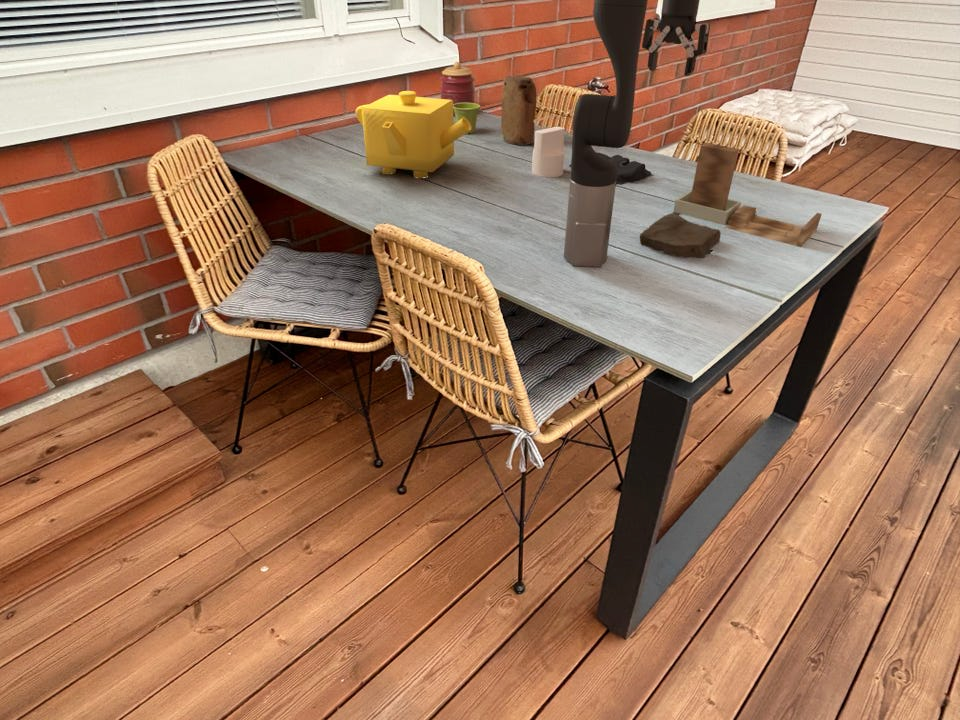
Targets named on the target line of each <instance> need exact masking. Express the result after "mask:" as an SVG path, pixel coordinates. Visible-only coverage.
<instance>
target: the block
mask: <svg viewBox="0 0 960 720" xmlns="http://www.w3.org/2000/svg"><path fill="white" fill-rule="evenodd" d="M501 90H502V91H501V113H500V114H501V115H500V117H501V118H500V120H501V122H500V125H501V126H500V129H501V133H502V135H503V136H502V139H503V141H504V142H505V143H507V142H508V143H507V144H511V145H518V146H527V145H530V144H532V143H533V141H534V140H535V121H534V120H535V118H536V112H537V111H536V110H537V88H536V85H535V83H534V80H533V79H532V77H529V76H526V75H525V76H524V75H514V76H511V75H509V76H505V77H504V78H503V82H502V89H501Z"/></svg>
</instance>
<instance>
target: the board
mask: <svg viewBox="0 0 960 720" xmlns="http://www.w3.org/2000/svg"><path fill="white" fill-rule="evenodd" d="M739 152H740V148H735V147H731V146H726V145H725V146H724V145H720V144H715V143H710V142H705V143H702V144H701V145H700V148H699V152H698V158H697V164H696V169H695V172H694V173H695V175H694V179H693V182H692V183H693V184H692V188H691V190H692V193H691V198H690V203H694V204H698V205H702V206H706V207H710V208H714V209H718V210H722V211H725V209H726V204H727V200H728V199H729V195H730V191H731V185H732V182H733V179H734V178H733V177H734V173H735V168H736V165H737V160H738V155H739Z"/></svg>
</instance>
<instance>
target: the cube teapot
mask: <svg viewBox="0 0 960 720" xmlns="http://www.w3.org/2000/svg"><path fill="white" fill-rule="evenodd" d="M355 116H356V119H357V120H358V121H359V123H360V124H361V125H362V127H363V128H362V129H363V137H364V148H365V149H364V150H365V159H366V165H367V166H376V167H381V168H382V170H381V171H380V173H381V172H382V173H384V174H383V175H385V174H390V175H392V174H391V173H394V174H395V173H396V172H397V170H399V169H400V170H409V171H412V172H413V173H412V174H413V177H414V178H415V177H418V178H417V179H419V178H423V177H427V176H428V175H429V173H434V172H435V171H436V170H437V169H439V168H441V167H442V166H443V164H445V163H446V162H447V161H448V160H450V159H451V158H452V157H453V156H454V155H455V141H457V140H459V139H460V138H461V137H462V136H464V135H467V134H466V133H467V132H469V131H470V130H471V129H472V128H471V125H470V123H469V121H468V120H467V119H466V118H462V119H460V120H459V121H458V122H456V121H455V123H454V116H453V100H447V99H441V98H436V97H435V98H434V97H423V96H422V97H421V96H417V92H415V91H413V90H404V91H400V92H399V93H398V94H388V95H385V96H383V97H382V98H379V99H377V100H376V101H373V102H371V103H369V104H363V105H359V106H357V108H356V109H355ZM441 165H442V166H441ZM440 166H441V167H440ZM382 173H381V174H382ZM427 178H428V177H427ZM423 179H424V178H423Z"/></svg>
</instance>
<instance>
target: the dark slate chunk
mask: <svg viewBox="0 0 960 720" xmlns="http://www.w3.org/2000/svg"><path fill="white" fill-rule="evenodd" d="M595 152H596V153H597V154H599V155H600V156H601V157H603V158H605V159H607V160H608V161H610V162H612V163H613V164H615V166H616V167H617V180H616V185H621V186H622V185H623V186H624V185H625V184H629V183H635V182H639V181H642V180H645V179H646V178H648V177H649V176H651V175H652V172H651V171H649V170H648V169H647V168H646V164H645V163H641V162H638V161H636V160H632V161H630V158H628V157H624V156H622V155H620V154H614V155H612V156H609V155H608V154H604V153H601V152H600V151H595ZM569 167H570V168H571V163H570V164H569Z"/></svg>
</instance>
